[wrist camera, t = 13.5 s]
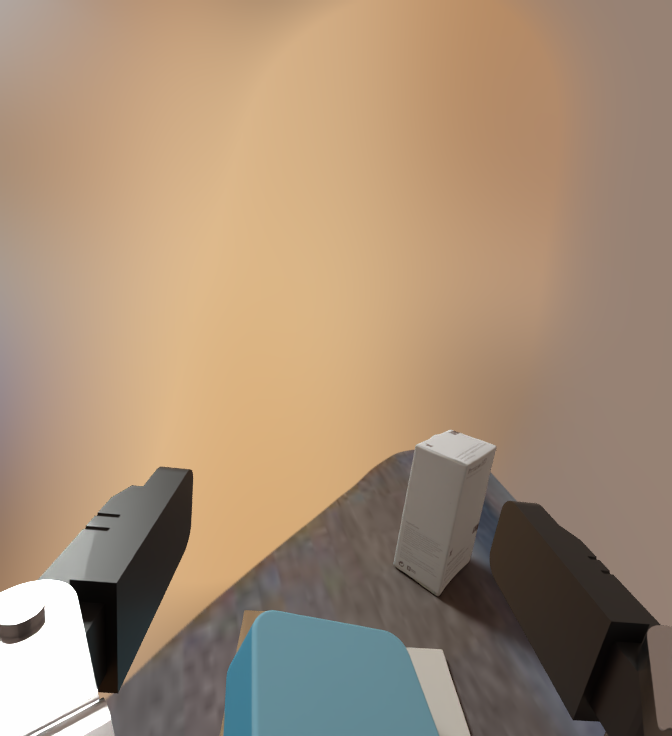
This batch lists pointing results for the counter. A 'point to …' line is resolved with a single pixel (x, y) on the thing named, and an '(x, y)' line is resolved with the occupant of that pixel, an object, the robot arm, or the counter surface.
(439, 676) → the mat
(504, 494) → the counter surface
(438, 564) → the skincare box
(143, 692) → the counter surface
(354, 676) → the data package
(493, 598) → the counter surface
